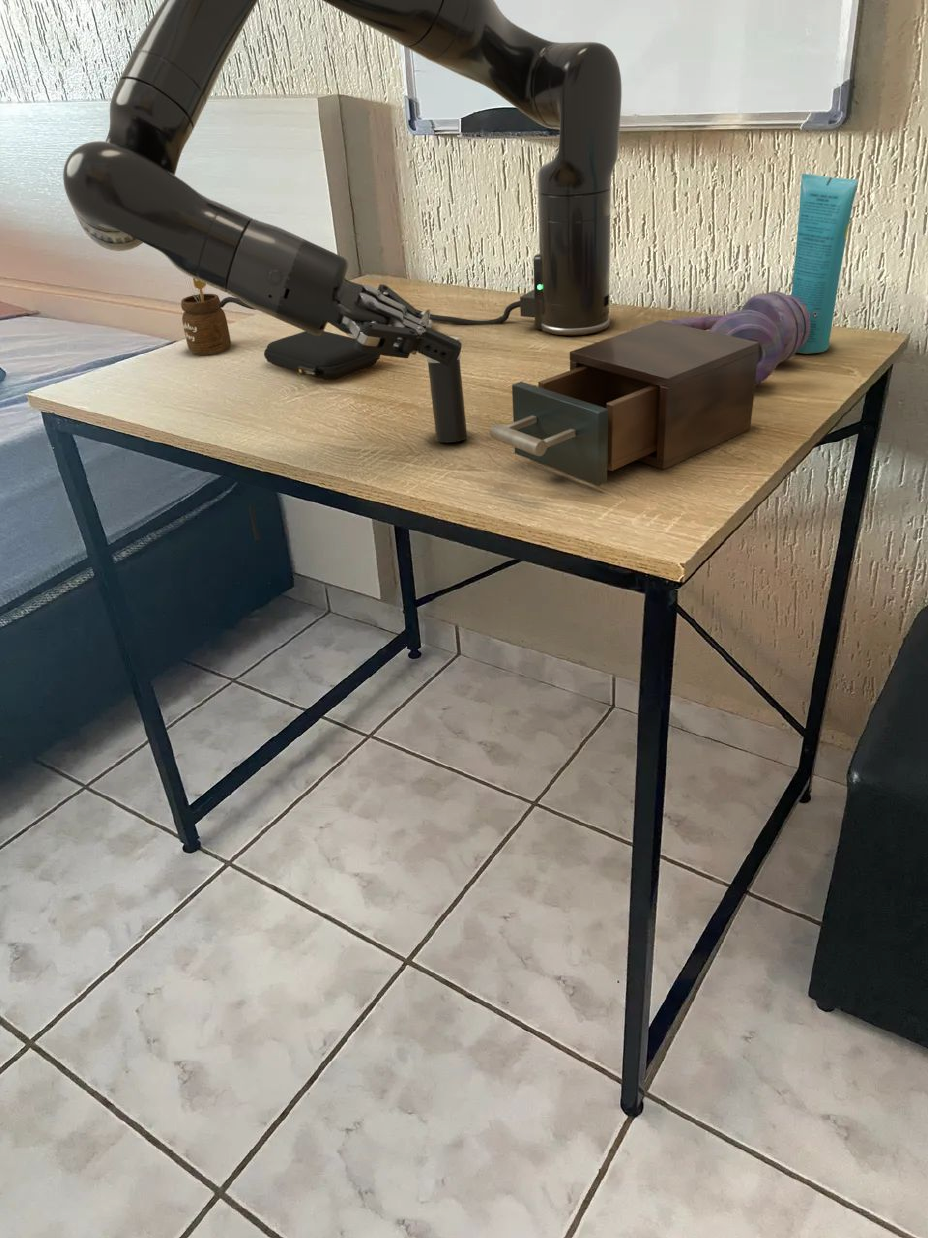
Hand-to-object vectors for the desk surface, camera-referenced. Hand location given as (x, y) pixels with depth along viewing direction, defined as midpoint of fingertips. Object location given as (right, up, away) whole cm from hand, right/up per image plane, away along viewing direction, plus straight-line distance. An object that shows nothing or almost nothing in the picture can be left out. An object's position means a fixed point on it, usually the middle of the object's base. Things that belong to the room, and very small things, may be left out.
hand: (457, 355), depth 91 cm
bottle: (-1, -7, +7) cm, 10 cm away
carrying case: (-18, +7, +31) cm, 37 cm away
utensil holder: (-35, +12, +41) cm, 55 cm away
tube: (+42, +7, +24) cm, 49 cm away
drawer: (+12, -10, -1) cm, 15 cm away
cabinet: (+20, -6, +5) cm, 22 cm away
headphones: (+29, +4, +21) cm, 36 cm away
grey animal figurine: (-8, +15, +42) cm, 45 cm away
